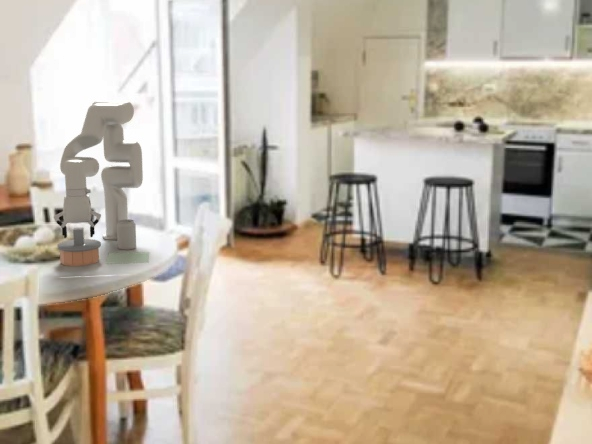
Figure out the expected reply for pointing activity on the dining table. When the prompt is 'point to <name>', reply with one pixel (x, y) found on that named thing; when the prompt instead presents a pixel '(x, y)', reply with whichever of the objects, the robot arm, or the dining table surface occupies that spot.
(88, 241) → the lid
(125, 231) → the can
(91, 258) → the bowl
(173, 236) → the dining table surface
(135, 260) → the mat
